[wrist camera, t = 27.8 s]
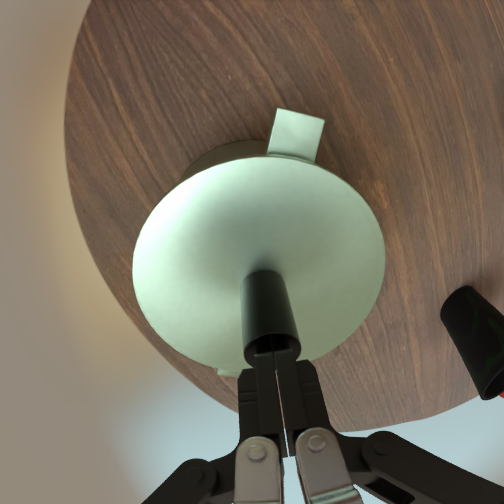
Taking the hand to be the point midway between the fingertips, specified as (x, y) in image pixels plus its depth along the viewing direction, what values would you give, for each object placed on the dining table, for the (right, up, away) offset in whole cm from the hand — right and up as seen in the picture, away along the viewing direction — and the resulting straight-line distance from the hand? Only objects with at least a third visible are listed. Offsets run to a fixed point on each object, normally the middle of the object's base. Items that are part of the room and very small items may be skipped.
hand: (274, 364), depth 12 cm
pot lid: (0, +3, +5) cm, 6 cm away
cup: (+24, -2, +19) cm, 31 cm away
